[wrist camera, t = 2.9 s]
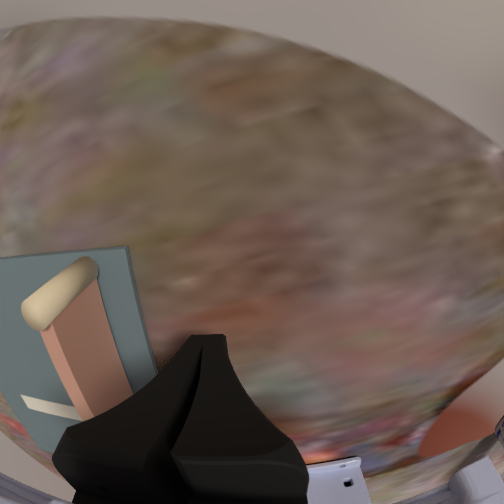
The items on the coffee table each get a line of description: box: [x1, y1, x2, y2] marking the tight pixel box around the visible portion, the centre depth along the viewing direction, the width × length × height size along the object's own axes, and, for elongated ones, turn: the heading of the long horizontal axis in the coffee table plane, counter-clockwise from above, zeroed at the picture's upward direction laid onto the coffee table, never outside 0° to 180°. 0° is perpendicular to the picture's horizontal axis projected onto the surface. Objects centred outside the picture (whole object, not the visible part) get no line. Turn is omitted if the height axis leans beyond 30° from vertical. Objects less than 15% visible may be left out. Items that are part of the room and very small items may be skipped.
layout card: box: [0, 246, 158, 453], centre depth 15 cm, size 15×18×1 cm
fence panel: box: [21, 256, 133, 421], centre depth 11 cm, size 10×1×4 cm, turn 4°
